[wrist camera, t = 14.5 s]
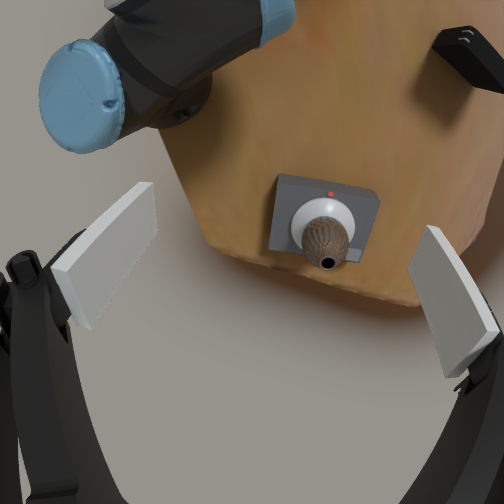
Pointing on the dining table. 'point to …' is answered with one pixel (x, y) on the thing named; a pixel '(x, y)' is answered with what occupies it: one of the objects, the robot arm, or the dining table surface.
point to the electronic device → (472, 57)
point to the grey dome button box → (321, 212)
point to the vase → (325, 242)
